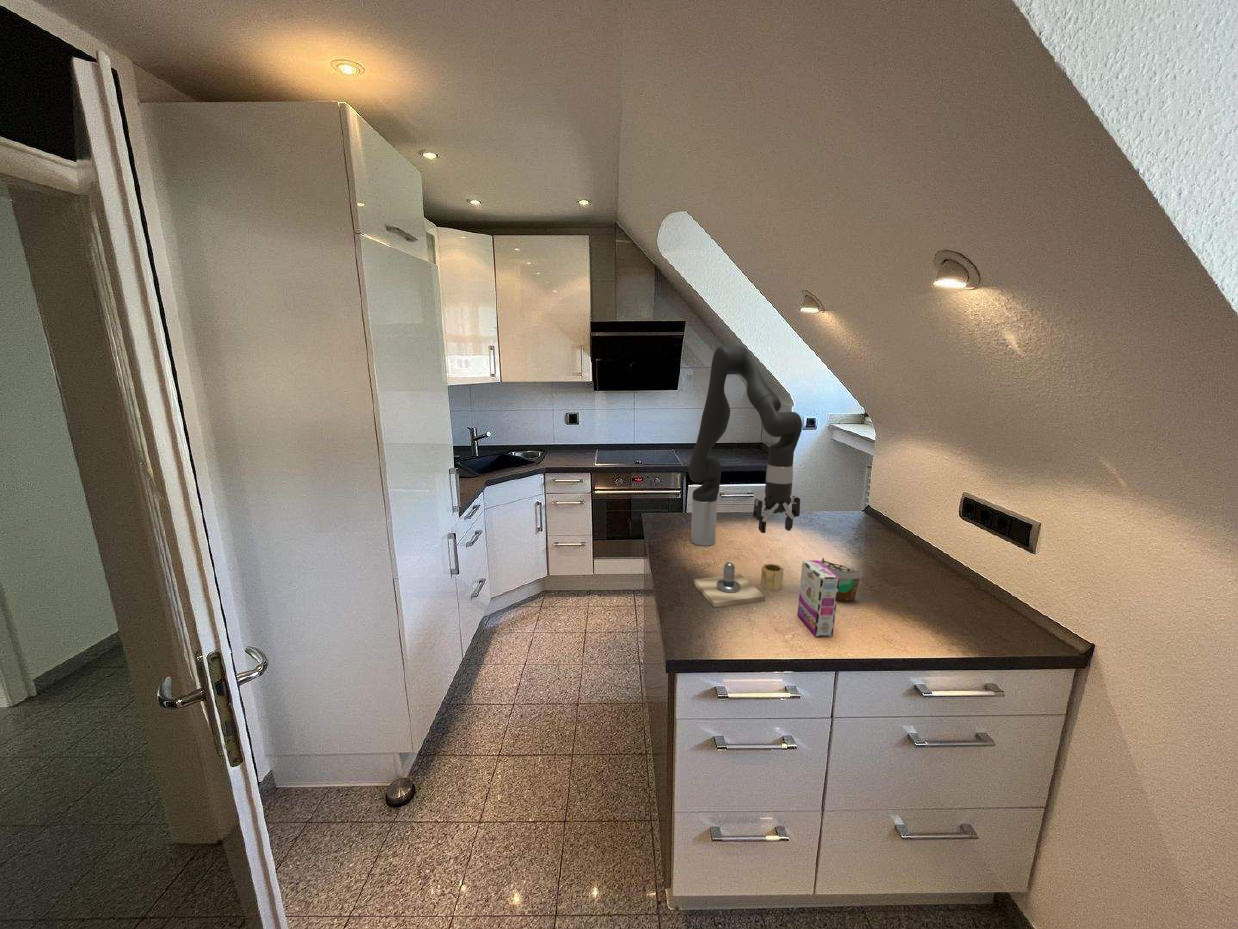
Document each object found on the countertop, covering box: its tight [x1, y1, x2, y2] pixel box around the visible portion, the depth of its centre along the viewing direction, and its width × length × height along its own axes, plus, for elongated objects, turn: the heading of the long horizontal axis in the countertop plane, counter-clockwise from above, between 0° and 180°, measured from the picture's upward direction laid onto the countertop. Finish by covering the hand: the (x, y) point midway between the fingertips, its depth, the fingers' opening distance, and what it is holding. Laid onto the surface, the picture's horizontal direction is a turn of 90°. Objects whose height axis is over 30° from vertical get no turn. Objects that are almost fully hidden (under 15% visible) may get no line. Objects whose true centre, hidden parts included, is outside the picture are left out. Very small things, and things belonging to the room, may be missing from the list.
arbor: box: [717, 561, 740, 593], centre depth 145 cm, size 7×7×8 cm
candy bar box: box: [797, 560, 840, 638], centre depth 127 cm, size 11×5×16 cm, turn 4°
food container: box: [820, 557, 863, 603], centre depth 142 cm, size 12×6×10 cm, turn 40°
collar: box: [760, 563, 785, 592], centre depth 150 cm, size 6×6×6 cm
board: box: [693, 573, 766, 608], centre depth 146 cm, size 15×16×2 cm
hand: (775, 531), depth 147 cm, fingers open, 8 cm apart
